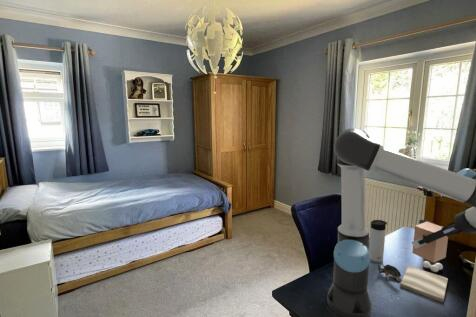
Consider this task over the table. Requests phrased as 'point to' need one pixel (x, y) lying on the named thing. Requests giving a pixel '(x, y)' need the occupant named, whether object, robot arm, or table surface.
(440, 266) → the cream marble
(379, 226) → the travel mug
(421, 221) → the supplement container
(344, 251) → the robot arm
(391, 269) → the eagle figurine
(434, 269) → the cream marble
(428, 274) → the birch pad
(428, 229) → the peach squarish block
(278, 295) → the table surface
